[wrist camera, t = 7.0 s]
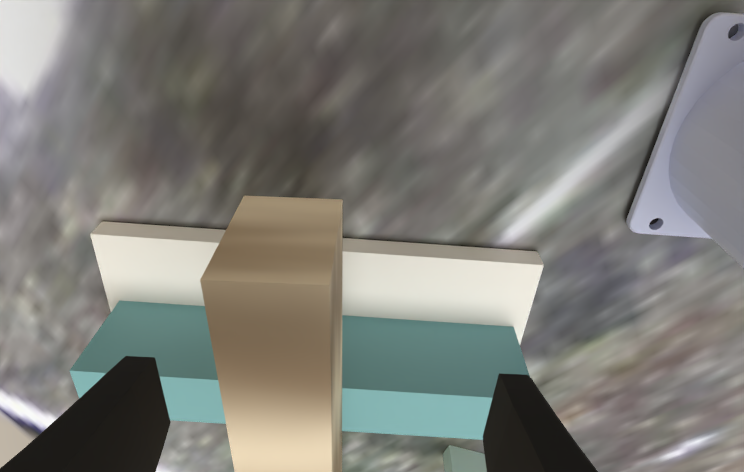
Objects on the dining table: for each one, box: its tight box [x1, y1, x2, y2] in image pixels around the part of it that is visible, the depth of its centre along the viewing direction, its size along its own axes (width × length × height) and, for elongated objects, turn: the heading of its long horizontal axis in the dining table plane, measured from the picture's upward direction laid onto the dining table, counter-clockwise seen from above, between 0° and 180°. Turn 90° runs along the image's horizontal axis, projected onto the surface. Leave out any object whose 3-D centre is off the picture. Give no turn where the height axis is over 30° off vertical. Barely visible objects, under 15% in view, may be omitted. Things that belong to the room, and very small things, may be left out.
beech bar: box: [200, 196, 343, 472], centre depth 17 cm, size 18×3×4 cm, turn 178°
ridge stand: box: [70, 221, 544, 440], centre depth 21 cm, size 18×9×5 cm, turn 86°
